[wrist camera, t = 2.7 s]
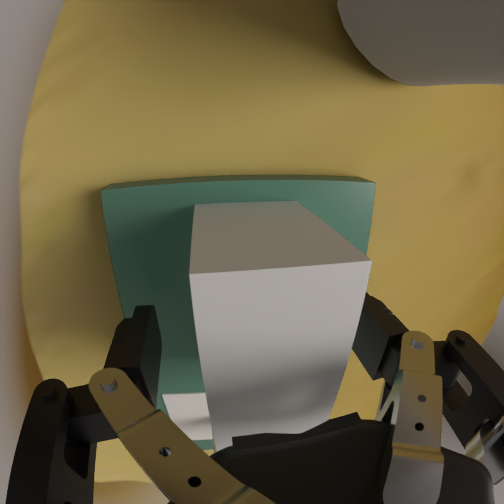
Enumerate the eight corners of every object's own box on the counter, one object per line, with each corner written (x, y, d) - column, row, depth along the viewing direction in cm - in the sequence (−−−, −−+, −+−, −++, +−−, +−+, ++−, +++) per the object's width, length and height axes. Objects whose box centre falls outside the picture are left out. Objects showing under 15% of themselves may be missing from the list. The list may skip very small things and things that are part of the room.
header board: (111, 184, 12) (70, 209, 8) (359, 177, 13) (416, 198, 9) (173, 436, 20) (174, 481, 15) (313, 420, 21) (329, 460, 17)
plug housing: (194, 204, 11) (189, 274, 6) (296, 201, 12) (372, 260, 6) (208, 358, 14) (217, 456, 9) (284, 350, 15) (319, 439, 10)
